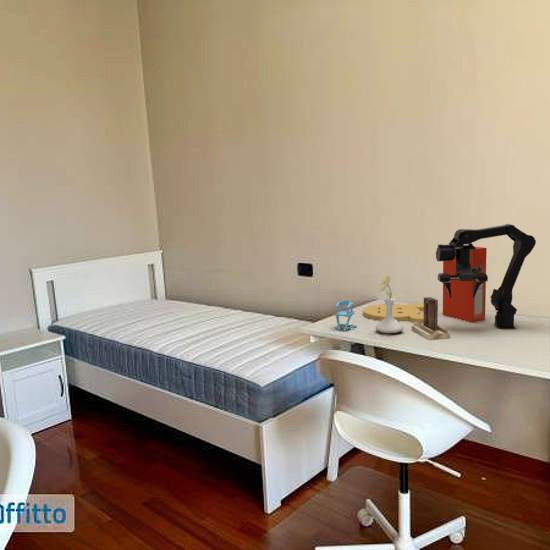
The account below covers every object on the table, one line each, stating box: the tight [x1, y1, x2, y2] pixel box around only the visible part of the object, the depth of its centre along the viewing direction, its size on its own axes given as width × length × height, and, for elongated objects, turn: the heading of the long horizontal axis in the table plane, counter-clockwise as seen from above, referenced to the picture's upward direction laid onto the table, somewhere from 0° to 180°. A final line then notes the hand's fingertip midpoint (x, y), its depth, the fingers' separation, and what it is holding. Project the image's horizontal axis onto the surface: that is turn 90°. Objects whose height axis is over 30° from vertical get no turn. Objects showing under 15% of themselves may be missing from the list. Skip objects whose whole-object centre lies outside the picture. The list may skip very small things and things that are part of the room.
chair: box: [334, 299, 357, 332], centre depth 224 cm, size 8×8×12 cm
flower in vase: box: [375, 273, 404, 334], centre depth 215 cm, size 13×11×25 cm
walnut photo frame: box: [422, 296, 439, 331], centre depth 211 cm, size 3×6×12 cm, turn 11°
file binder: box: [442, 246, 487, 324], centre depth 233 cm, size 8×17×32 cm, turn 27°
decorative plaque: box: [362, 302, 424, 325], centre depth 246 cm, size 31×3×30 cm
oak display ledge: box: [411, 322, 451, 341], centre depth 212 cm, size 9×15×3 cm, turn 11°
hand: (461, 297), depth 217 cm, fingers open, 9 cm apart
